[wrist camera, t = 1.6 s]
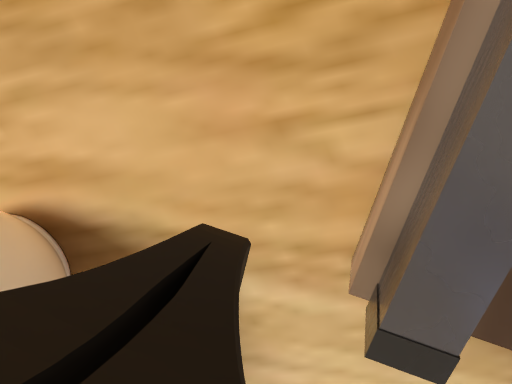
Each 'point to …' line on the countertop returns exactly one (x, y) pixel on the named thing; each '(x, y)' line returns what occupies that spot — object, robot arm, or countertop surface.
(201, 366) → the robot arm
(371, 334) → the folding leg
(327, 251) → the countertop surface
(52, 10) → the countertop surface
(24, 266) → the lidded jar
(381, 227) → the stool seat
